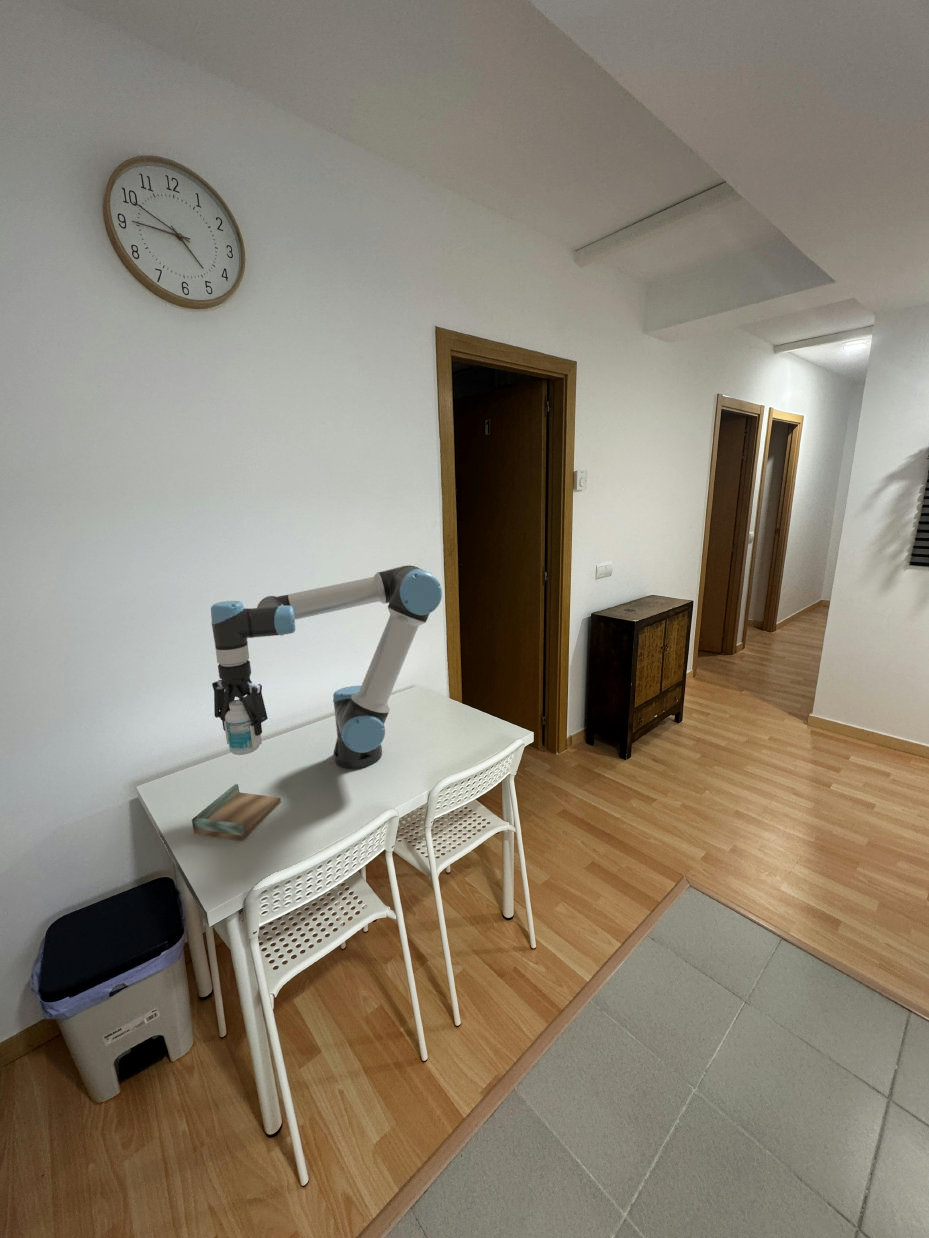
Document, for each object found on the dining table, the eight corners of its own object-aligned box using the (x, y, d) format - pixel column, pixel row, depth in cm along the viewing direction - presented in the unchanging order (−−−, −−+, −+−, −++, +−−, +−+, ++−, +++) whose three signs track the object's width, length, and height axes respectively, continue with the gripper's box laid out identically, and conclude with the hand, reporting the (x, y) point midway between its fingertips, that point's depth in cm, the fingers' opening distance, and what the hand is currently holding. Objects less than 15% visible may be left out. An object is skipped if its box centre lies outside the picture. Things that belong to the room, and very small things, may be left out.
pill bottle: (236, 743, 136) (230, 696, 133) (264, 742, 137) (258, 696, 134) (225, 756, 129) (218, 708, 126) (253, 755, 129) (247, 707, 126)
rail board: (281, 802, 136) (279, 789, 135) (242, 840, 121) (239, 826, 120) (237, 796, 140) (235, 783, 139) (194, 833, 125) (191, 819, 124)
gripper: (276, 660, 128) (285, 742, 133) (212, 654, 134) (223, 732, 139) (257, 669, 121) (267, 755, 126) (190, 663, 127) (202, 745, 132)
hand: (244, 743), depth 133 cm, fingers closed on pill bottle, 7 cm apart
